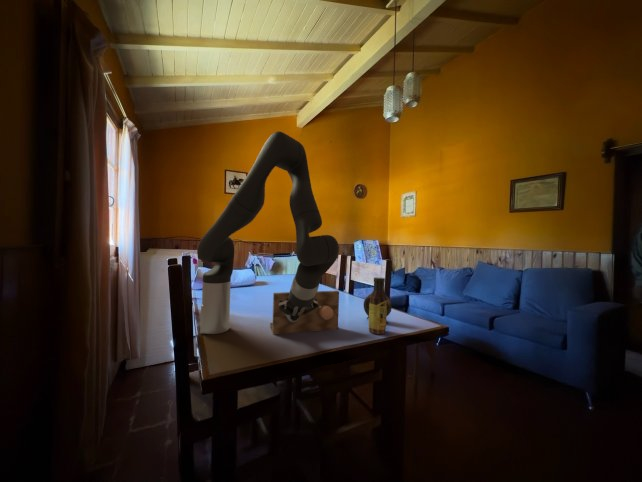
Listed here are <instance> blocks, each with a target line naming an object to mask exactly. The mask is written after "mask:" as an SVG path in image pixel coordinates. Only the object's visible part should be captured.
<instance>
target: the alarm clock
mask: <svg viewBox="0 0 642 482" xmlns="http://www.w3.org/2000/svg"><path fill="white" fill-rule="evenodd" d="M370 295H371V293H370V294H368V295H367V296H366V297H365V298H364V300H363V310H364V312H365V314H366V315H367V317H366V319H367V320H369V305H370ZM386 298H387V315H386V318H387V317H388V316H389V315H390V314H391V312H392V308H393V307H392V301H391V300H390V297H388V296H387V295H386ZM388 323H389V322H388V320H387V319H386V324H388Z"/></svg>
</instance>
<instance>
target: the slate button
mask: <svg viewBox="0 0 642 482" xmlns="http://www.w3.org/2000/svg"><path fill="white" fill-rule="evenodd" d="M286 317H287V318H288V320H289V321H291V322H296V321H297V320H298V319H297V320H296V321H292V319H291V318H290V315H287V314H286ZM299 318H300V317H299Z"/></svg>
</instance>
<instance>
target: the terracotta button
mask: <svg viewBox="0 0 642 482" xmlns="http://www.w3.org/2000/svg"><path fill="white" fill-rule="evenodd" d="M319 314H320V316H321V317H322V318H324V319H325V320H328V319H330V318H332V316H333V310H332V308H330V307H329V306H327V305H323V306H320V309H319Z"/></svg>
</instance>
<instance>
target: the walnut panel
mask: <svg viewBox="0 0 642 482" xmlns="http://www.w3.org/2000/svg"><path fill="white" fill-rule="evenodd" d="M289 292H290V291H287V292H285V291H284V292H273V297H272V299H273V300H272V322H270V324H269V328H270V330H271V332H272V335H283V334H295V333H297V334H298V333H307V332H321V331H331V330H332V331H334V330H339V312H340V311H339V310H340V309H339V308H340V306H339V305H340V291H338V290H318V291H317V293H316V295H315V298H314V299H317V302H318V307H317V308H315V309H314V310H312V311H310V312H308V313H307V314H303V313H302V314H301V315H300V318H299V319H298V320H297V321H296V322H291V321H289V320H288V318H287V317H286V314H285V313H284V312H283V311H281V310H280V309H279V301H280V300H282V301H283V302H284V301H286V298H287V297H288V296H289ZM323 305H327V306H329V307H330V308H332V310H333V316H332V318H330V319H328V320H325V319H324V318H322V317H321V316H320V314H319V309H320V306H323ZM307 309H308V307H307V308H306V310H307Z"/></svg>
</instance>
